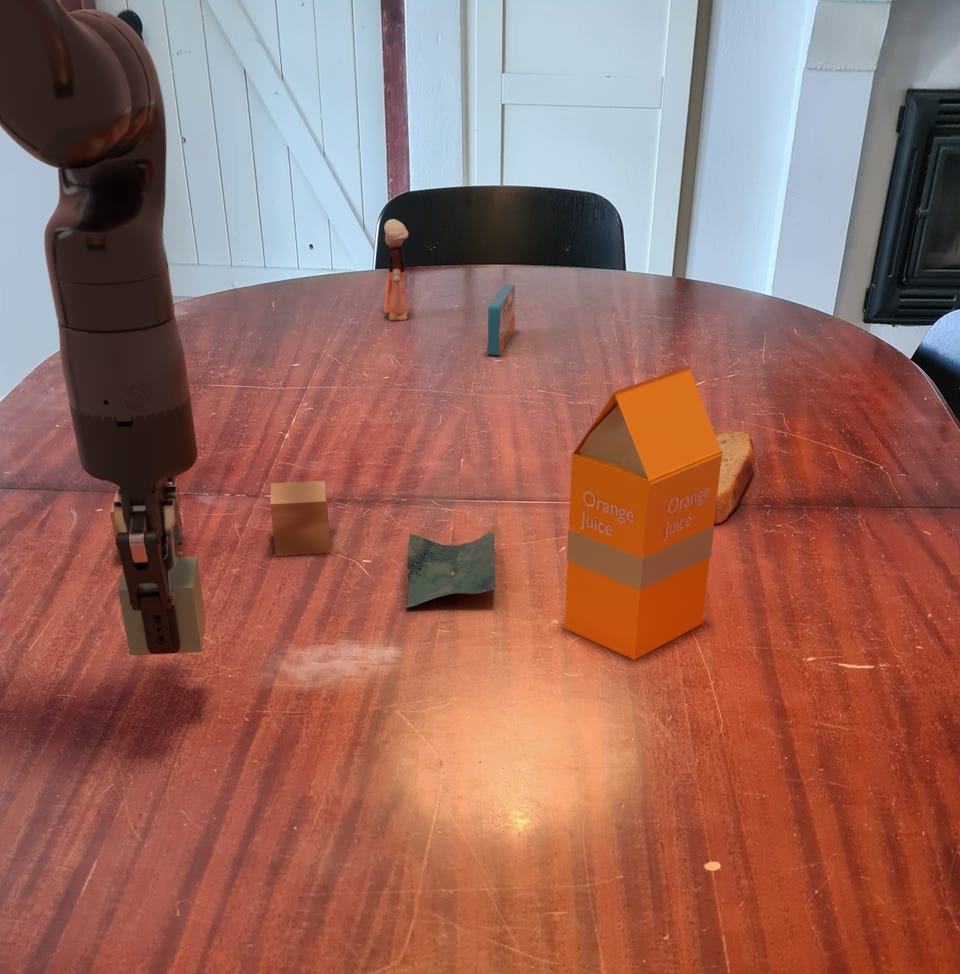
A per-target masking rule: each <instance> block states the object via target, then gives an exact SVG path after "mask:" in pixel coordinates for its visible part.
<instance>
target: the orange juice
mask: <svg viewBox="0 0 960 974" xmlns="http://www.w3.org/2000/svg"><path fill="white" fill-rule="evenodd" d="M690 367H691V365H687V366H685V367H682V368H679V369H676V370H673V371H670V372H667V373H665V374H662V375H658V376H656V377H652V378H650V379H647V380H644V381H642V382H638V383H635V384H633V385H629V386H627V387H624V388H621V389H618V390H615V391H614V392H613V394H612V395H611V397H610V398H609V400H608V401H607V403H606V404H605V406H604V407H603V409H602V410H601V412H600V413H599V414H598V415H597V417H596V418H595V420H594V422H593V423H592V424H591V426H590V427H589V429H588V431H586V433H585V435H584V436H583V438H582V439H581V440H580V442H579V443H578V444H577V446H576V448H575V449H574V451H573V452H572V453H571V471H570V472H571V473H570V491H569V492H570V495H569V515H568V516H569V517H568V519H569V520H568V522H569V523H568V529H567V544H566V545H567V546H566V561H567V563H566V586H565V587H566V589H565V608H564V609H565V612H564V629H566V630H568V631H569V632H571V633H574V634H576V635H578V636H580V637H583V638H585V639H587V640H589V641H592V642H594V643H596V644H598V645H601V646H603V647H604V648H607V649H609V650H611V651H614V652H616V653H617V654H620V655H622V656H625V657H627V658H629V659H631V660H634V661H636V660H637V659H639V658H641V657H643V656H644V655H647V654H648V653H650V652H652V651H654V650H656V649H658V648H659V647H661V646H664V645H666V644H667V643H669V642H671V641H673V640H674V639H677V638H678V637H680V636H682V635H684V634H686V633H688V632H690V631H692V630H693V629H696V628H697V627H699V626H701V625H702V624H703V618H704V612H705V611H704V609H705V601H706V594H707V586H708V585H707V584H708V576H709V568H710V560H711V559H710V558H711V557H712V548H713V541H714V532H715V524H714V518H715V510H716V502H717V493H718V485H719V476H720V468H721V460H722V455H723V454H722V451H723V450H721V449H720V446H719V444H718V441H717V438H716V436H715V435H716V433H715V431H714V428H713V426H712V422H711V419H710V418H709V414H708V412H707V409H706V407H705V405H704V402H703V399H702V396H701V394H700V392H699V389H698V386H697V384H696V381H695V378H694V376H693V373H692V370H691V368H690Z"/></svg>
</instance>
